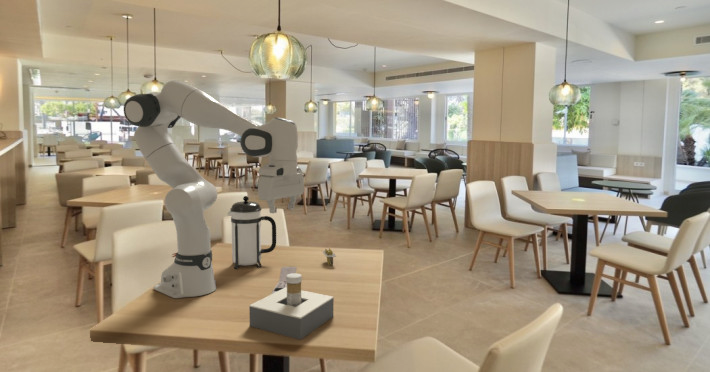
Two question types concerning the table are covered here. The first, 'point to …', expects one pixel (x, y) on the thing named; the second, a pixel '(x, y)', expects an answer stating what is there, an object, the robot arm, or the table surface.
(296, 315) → the socket block
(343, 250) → the table surface
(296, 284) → the sprinkles bottle
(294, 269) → the mobile phone
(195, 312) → the table surface
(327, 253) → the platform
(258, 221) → the coffee press
